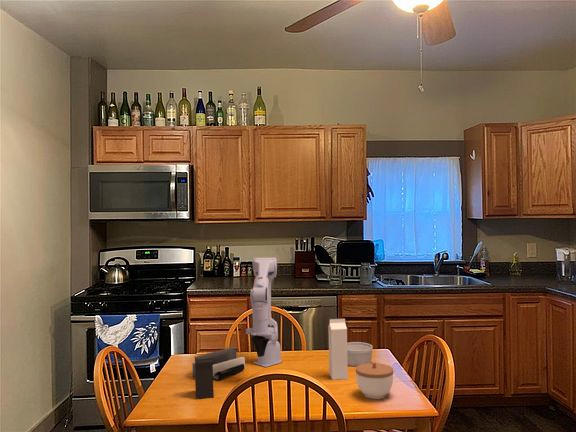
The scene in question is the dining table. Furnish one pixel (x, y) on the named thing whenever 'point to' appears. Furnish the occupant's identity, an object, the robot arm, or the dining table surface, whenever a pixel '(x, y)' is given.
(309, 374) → the dining table surface
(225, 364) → the pad
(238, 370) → the electric trimmer
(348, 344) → the ramekin
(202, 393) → the phone stand
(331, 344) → the milk
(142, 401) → the dining table surface
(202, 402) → the dining table surface
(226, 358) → the tester frame
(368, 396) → the lidded bowl
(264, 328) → the robot arm
